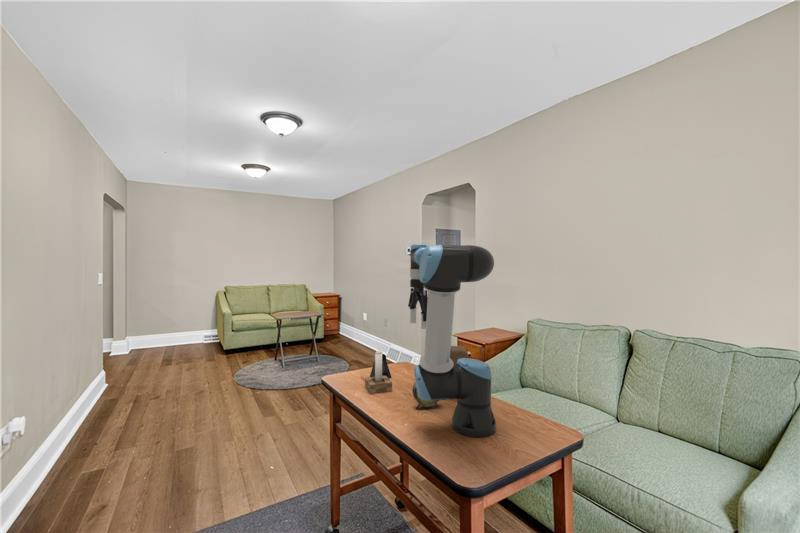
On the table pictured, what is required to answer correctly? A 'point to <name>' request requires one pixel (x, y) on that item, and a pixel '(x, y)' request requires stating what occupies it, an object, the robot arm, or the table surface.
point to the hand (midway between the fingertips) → (418, 325)
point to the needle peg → (378, 366)
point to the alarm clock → (422, 402)
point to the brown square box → (378, 385)
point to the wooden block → (458, 353)
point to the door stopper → (384, 368)
